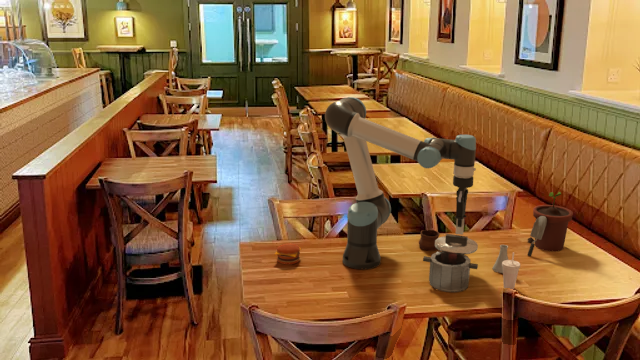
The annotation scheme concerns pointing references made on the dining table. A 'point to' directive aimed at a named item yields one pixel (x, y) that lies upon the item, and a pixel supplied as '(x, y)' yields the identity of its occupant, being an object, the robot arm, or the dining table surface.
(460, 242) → the lid
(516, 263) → the smoothie
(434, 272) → the pot
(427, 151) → the robot arm
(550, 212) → the potted plant
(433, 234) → the ceramic pot
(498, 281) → the dining table surface
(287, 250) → the hamburger
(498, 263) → the flask
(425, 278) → the dining table surface
